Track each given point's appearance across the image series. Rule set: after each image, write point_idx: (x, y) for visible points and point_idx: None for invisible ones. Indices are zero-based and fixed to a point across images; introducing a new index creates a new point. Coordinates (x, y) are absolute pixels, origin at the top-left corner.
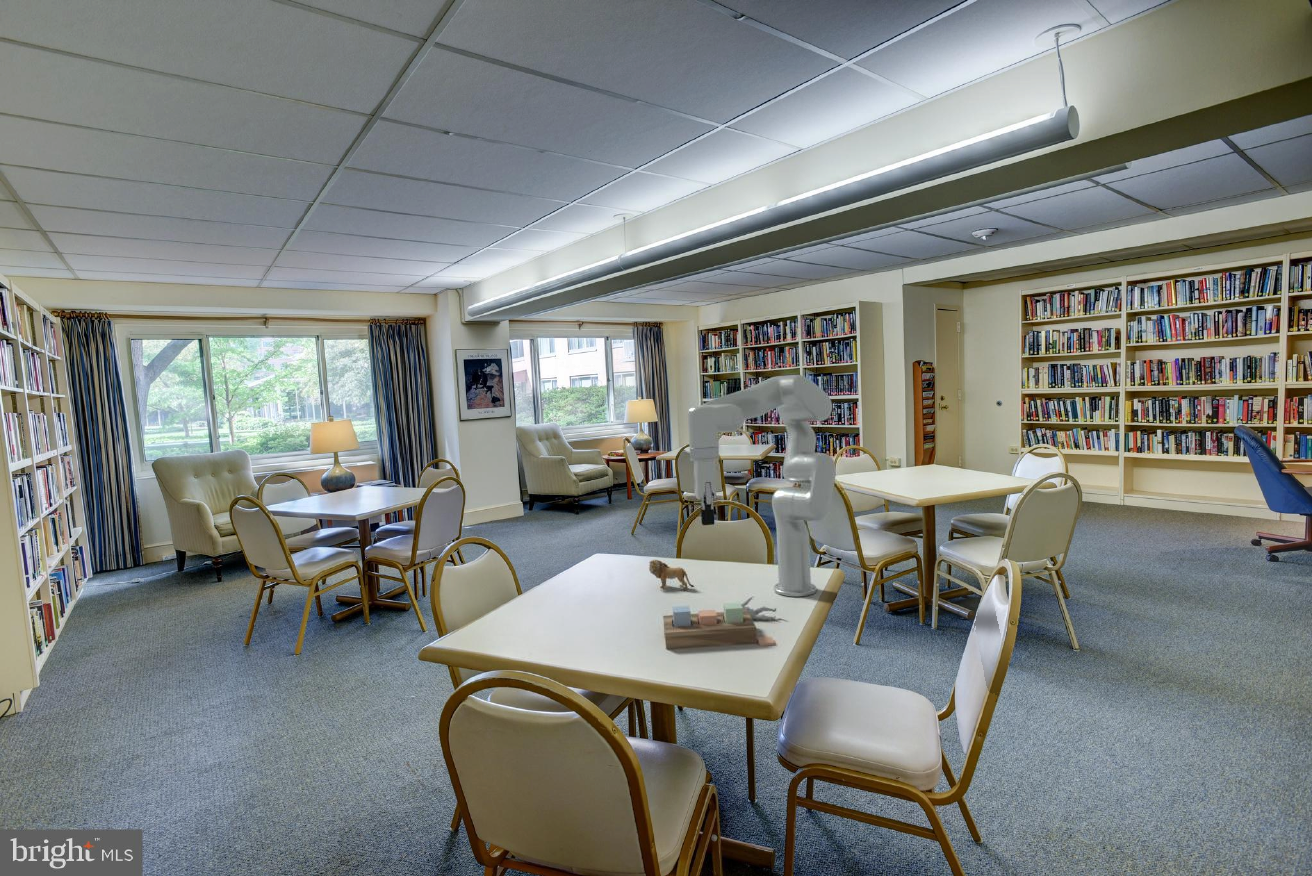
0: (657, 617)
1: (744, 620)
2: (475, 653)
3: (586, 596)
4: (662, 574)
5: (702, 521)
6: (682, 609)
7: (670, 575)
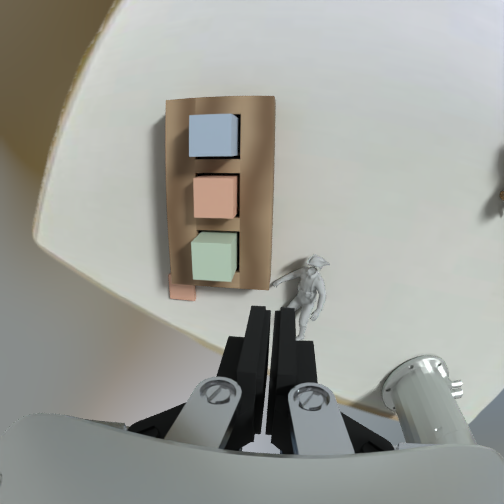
0: (362, 97)
1: None
2: None
3: (490, 5)
4: None
5: (250, 318)
6: (206, 137)
7: None
